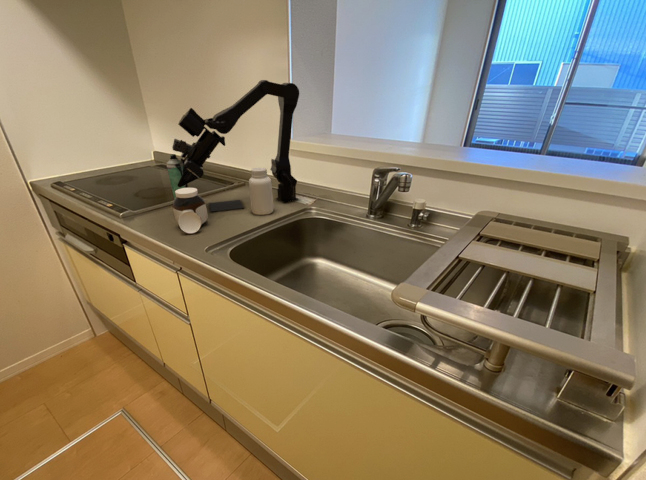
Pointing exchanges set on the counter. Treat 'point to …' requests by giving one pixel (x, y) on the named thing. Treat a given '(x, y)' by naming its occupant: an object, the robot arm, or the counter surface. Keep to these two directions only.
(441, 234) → the counter surface
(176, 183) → the spray can
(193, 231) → the spread jar
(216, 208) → the mat
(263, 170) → the pill bottle
